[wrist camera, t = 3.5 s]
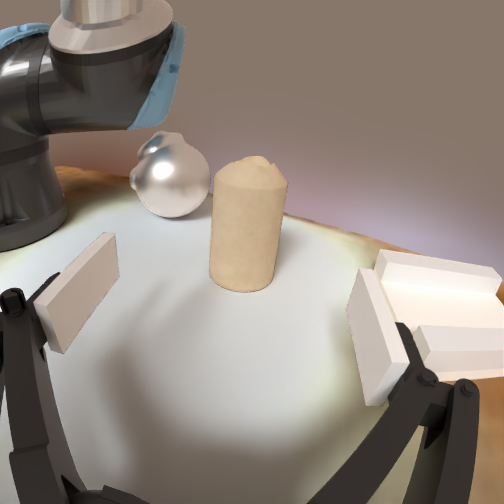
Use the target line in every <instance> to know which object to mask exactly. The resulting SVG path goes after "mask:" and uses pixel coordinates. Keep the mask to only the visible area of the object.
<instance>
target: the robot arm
mask: <svg viewBox="0 0 504 504" xmlns="http://www.w3.org/2000/svg"><path fill="white" fill-rule="evenodd" d="M60 1H61V11H62V13H61V15H60V16H59V17H58V18H57V19H56V21H55V22H54V23H53V25H52V26H50V25H48V24H44V23H29V24H25V25H23V26H19V27H17V26H14V27H10V28H7V29H4V30H1V31H0V251H5V250H10V249H14V248H17V247H20V246H23V245H26V244H29V243H31V242H34V241H36V240H38V239H40V238H42V237H44V236H46V235H48V234H50V233H51V232H53V231H54V230H56V229H57V228H58V227H59V226H60V225H61V224H62V223H63V222H64V221H65V220H66V218H67V215H68V210H67V202H66V196H65V193H64V191H63V190H62V189H61V187H60V184H59V181H58V178H57V175H56V173H55V170H54V167H53V164H52V162H51V159H50V155H49V142H48V141H49V139H48V137H49V134H58V133H71V132H86V131H106V130H132V129H133V128H145V127H154V126H157V125H159V124H161V123H162V122H163V121H164V120H165V119H166V117H167V115H168V113H169V110H170V108H171V104H172V101H173V97H174V92H175V88H176V84H177V80H178V73H179V71H178V70H179V68H180V63H181V60H182V56H183V50H184V44H185V37H186V29H185V27H184V26H183V25H181V24H178V23H175V22H172V18H173V11H172V8H171V6H170V5H169V4H168V3H167V2H165V1H164V0H60ZM119 277H120V275H119V267H118V258H117V249H116V239H115V234H111V233H104V232H103V233H102V234H101V235H100V236H99V237H98V238H97V239H96V240H95V241H94V242H93V243H91V244H90V245H89V246H88V247H87V248H86V249H85V250H84V251H83V252H82V253H81V254H80V255H79V256H78V257H77V258H76V259H75V260H74V261H73V262H72V263H71V264H70V265H69V266H68V267H67V268H66V269H65V270H64V271H63V272H62V273H60V272H58V273H56V274H54V275H52V276H51V277H49V278H48V279H47V280H46V281H45V282H44V284H42V285H41V286H40V287H39V289H38V290H37V291H36V292H35V293H34V294H33V295H32V296H31V297H30V298H29V299H28V300H27V301H26V299H25V296H24V293H23V290H21V289H20V288H10V289H8V290H6V291H4V292H3V293H2V294H1V295H0V307H1V309H2V312H0V414H1V406H2V399H3V392H4V386H5V390H6V400H7V409H8V417H9V424H10V430H11V436H12V442H13V447H14V450H13V452H10V454H9V460H10V466H11V470H12V474H13V478H14V482H15V486H16V490H17V494H18V497H19V501H20V504H149V503H147V502H145V501H143V500H141V499H140V498H138V497H136V496H134V495H132V494H129V493H126V492H123V491H120V490H117V489H114V488H111V487H109V486H106V485H104V487H103V490H88V491H87V489H86V487H85V485H84V484H83V482H82V481H81V479H80V477H79V475H78V473H77V471H76V468H75V465H74V462H73V459H72V457H71V454H70V451H69V448H68V445H67V441H66V438H65V435H64V432H63V428H62V425H61V421H60V417H59V414H58V410H57V406H56V402H55V398H54V394H53V389H52V384H51V380H50V375H49V370H48V364H47V359H46V353H45V350H44V347H43V346H44V344H45V343H46V342H48V344H49V347H50V349H51V350H52V351H55V352H58V353H61V354H64V353H65V352H66V350H67V349H68V347H69V346H70V344H71V343H72V341H73V340H74V338H75V337H76V335H77V334H78V333H79V331H80V330H81V328H82V327H83V325H84V324H85V323H86V321H87V320H88V318H89V317H90V316H91V314H92V313H93V311H94V310H95V309H96V307H97V306H98V305H99V303H100V302H101V301H102V299H103V298H104V297H105V295H106V294H107V293H108V291H109V290H110V289H111V287H112V286H113V285H114V283H115V282H116V281H117V279H118V278H119ZM346 313H347V317H348V322H349V326H350V330H351V335H352V339H353V344H354V349H355V353H356V358H357V363H358V368H359V373H360V378H361V383H362V388H363V394H364V399H365V405H366V406H382V405H383V404H384V402H385V401H386V400H387V398H388V401H389V405H390V406H389V407H388V408H387V410H386V411H385V413H384V414H383V415H382V417H381V418H380V419H379V421H378V422H377V423H376V425H375V426H374V427H373V429H372V430H371V431H370V433H369V434H368V435H367V437H366V438H365V439H364V440H363V442H362V443H361V444H360V445H359V447H358V448H357V449H356V450H355V451H354V453H353V454H352V455H351V456H350V457H349V459H348V460H347V461H346V462H345V463H344V464H343V466H342V467H341V468H340V469H339V470H338V471H337V472H336V473H335V475H334V476H333V477H332V478H331V479H330V480H329V481H328V482H327V483H326V484H325V485H324V486H323V487H322V488H321V489H320V491H319V492H318V493H317V494H316V495H315V496H314V497H313V498H312V499H311V500H310V501H309V502H308V503H307V504H366V503H367V502H368V500H369V499H370V498H371V496H372V495H373V494H374V493H375V491H376V490H377V488H378V487H379V486H380V484H381V483H382V482H383V480H384V479H385V477H386V476H387V475H388V473H389V472H390V470H391V469H392V467H393V466H394V464H395V463H396V461H397V460H398V458H399V457H400V455H401V453H402V452H403V450H404V449H405V447H406V445H407V444H408V442H409V441H410V439H411V437H412V435H413V434H414V432H415V430H416V429H417V427H418V425H420V426H424V431H423V435H422V439H421V443H420V447H419V451H418V455H417V459H416V462H415V466H414V469H413V473H412V476H411V479H410V482H409V485H408V488H407V492H406V494H405V497H404V500H403V503H402V504H468V500H469V495H470V490H471V484H472V478H473V472H474V465H475V457H476V448H477V437H478V424H479V399H480V394H479V389H478V387H477V386H476V384H475V383H473V382H472V381H471V380H469V379H465V378H462V379H459V380H457V381H456V383H455V384H454V385H450V384H446V383H443V382H440V381H439V379H438V377H437V375H436V374H435V373H434V372H433V371H431V370H430V369H428V368H425V366H424V363H423V361H422V358H421V355H420V353H419V350H418V348H417V346H416V343H415V341H414V340H413V336H412V333H411V331H410V329H409V328H408V327H407V326H406V325H405V324H404V323H401V322H394V319H393V317H392V314H391V312H390V309H389V307H388V304H387V302H386V300H385V297H384V295H383V292H382V290H381V288H380V285H379V283H378V281H377V278H376V276H375V274H374V272H373V270H372V269H365V268H359V270H358V273H357V276H356V280H355V283H354V286H353V289H352V292H351V295H350V298H349V301H348V304H347V307H346Z"/></svg>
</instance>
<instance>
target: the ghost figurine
mask: <svg viewBox="0 0 504 504" xmlns="http://www.w3.org/2000/svg"><path fill="white" fill-rule="evenodd" d="M137 157H138V165H137V166H136V167H135V168H134V169H132V171H131V173H130V177H129V182H130V185H131V187H132V188H133V189H134V190H135V191H136V192H137V194H138V197H139V199H140V200H141V202H142V203H143V205H144V206H145V207H146V208H147V209H149V210H150V211H151V212H153V213H155V214H157V215H159V216H163V217H169V218H175V217H181V216H184V215H187V214H189V213H191V212H192V211H194V210H195V209H197V208H198V207H199V206H200V205H201V204H202V202H203V201H204V199H205V198H206V196H207V194H208V191H209V187H210V180H211V178H210V170H209V166H208V164H207V162H206V160H205V158H204V157H203V156H202V155H201V153H200V152H199V151H197V150H196V149H195V148H193V147H192V146H190V145H187V143H185V141H184V139H183V137H182V135H181V134H179V133H167V132H165V131H159V132H157V133H155V134H154V135H153V137H152V138H151V139H150V140H148V141H147V142H146V143H145V144H144V145H143V146H142V147H141V148H140V149H139V151H138V154H137Z"/></svg>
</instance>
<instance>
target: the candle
mask: <svg viewBox="0 0 504 504" xmlns="http://www.w3.org/2000/svg"><path fill="white" fill-rule="evenodd" d="M287 187H288V182H287V180H286V179H285V177H284V176H283V175H282V173H280V171H279V170H278V168H277V167H276V165H275V163H274V164H270V163H269V162H268V161H267V160H266V159H265V158H264V157H262V156H251V157H246V158H244V159H242V160H240V161H233V162H231V163H230V164H228V165H226V166H224V167H223V168H222V169H220V170H219V171H218V172H217V173H216V174H215V178H214V192H213V206H212V223H211V240H210V260H209V272H210V276H211V278H212V280H213V281H214V282H215V283H216V284H218V285H219V286H221V287H223V288H225V289H228V290H232V291H237V292H253V291H258V290H261V289H263V288H265V287H266V286H268V285H269V284H270V282H271V280H272V278H273V273H274V268H275V262H276V256H277V250H278V244H279V237H280V231H281V225H282V219H283V212H284V206H285V200H286V193H287Z"/></svg>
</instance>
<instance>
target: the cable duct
mask: <svg viewBox="0 0 504 504" xmlns="http://www.w3.org/2000/svg"><path fill="white" fill-rule="evenodd" d="M373 272H374V274H375V276H376V278H377V281H378V283H379V285H380V288H381V290H382V292H383V295H384V297H385V300H386V302H387V304H388V307H389V309H390V312H391V314H392V317H393V319H394V322H401V323H404V324H405V325H406V326H407V327H408V328H409V329H410V331H411V333H412V336H413V340H414V341H415V343H416V346H417V348H418V350H419V353H420V355H421V358H422V361H423V363H424V366H425V368H428V369H430V370H431V371H433V372H434V373H435V374H436V375H437V377H438V379H439V381H456V380H459V379H462V378H465V379H469V380H471V379H482V378H492V377H501V376H504V306H503V305H502V303H501V302H500V301H499V299H498V298H497V297H496V296H495V294H496V292H497V290H498V288H499V286H500V284H501V282H502V278H501V277H500V276H499V275H498V274H497V273H496V272H495V270H494V269H493V268H491V267H485V266H480V265H474V264H468V263H463V262H457V261H451V260H445V259H439V258H433V257H427V256H421V255H415V254H409V253H403V252H397V251H390V250H384V249H380V251H379V254H378V258H377V261H376V264H375V267H374V270H373Z"/></svg>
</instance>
